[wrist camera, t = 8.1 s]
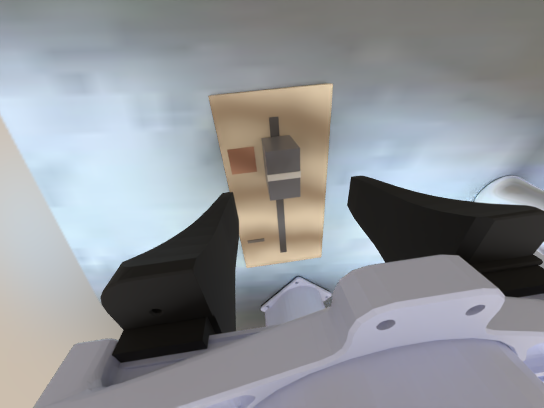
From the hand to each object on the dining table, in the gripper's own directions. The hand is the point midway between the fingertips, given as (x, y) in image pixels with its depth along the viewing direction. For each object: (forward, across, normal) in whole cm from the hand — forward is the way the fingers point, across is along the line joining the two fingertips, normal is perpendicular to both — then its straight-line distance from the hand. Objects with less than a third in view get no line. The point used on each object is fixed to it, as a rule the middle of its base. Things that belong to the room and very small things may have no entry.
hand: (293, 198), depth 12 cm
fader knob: (+7, 0, 0) cm, 7 cm away
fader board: (+9, 0, +4) cm, 10 cm away
